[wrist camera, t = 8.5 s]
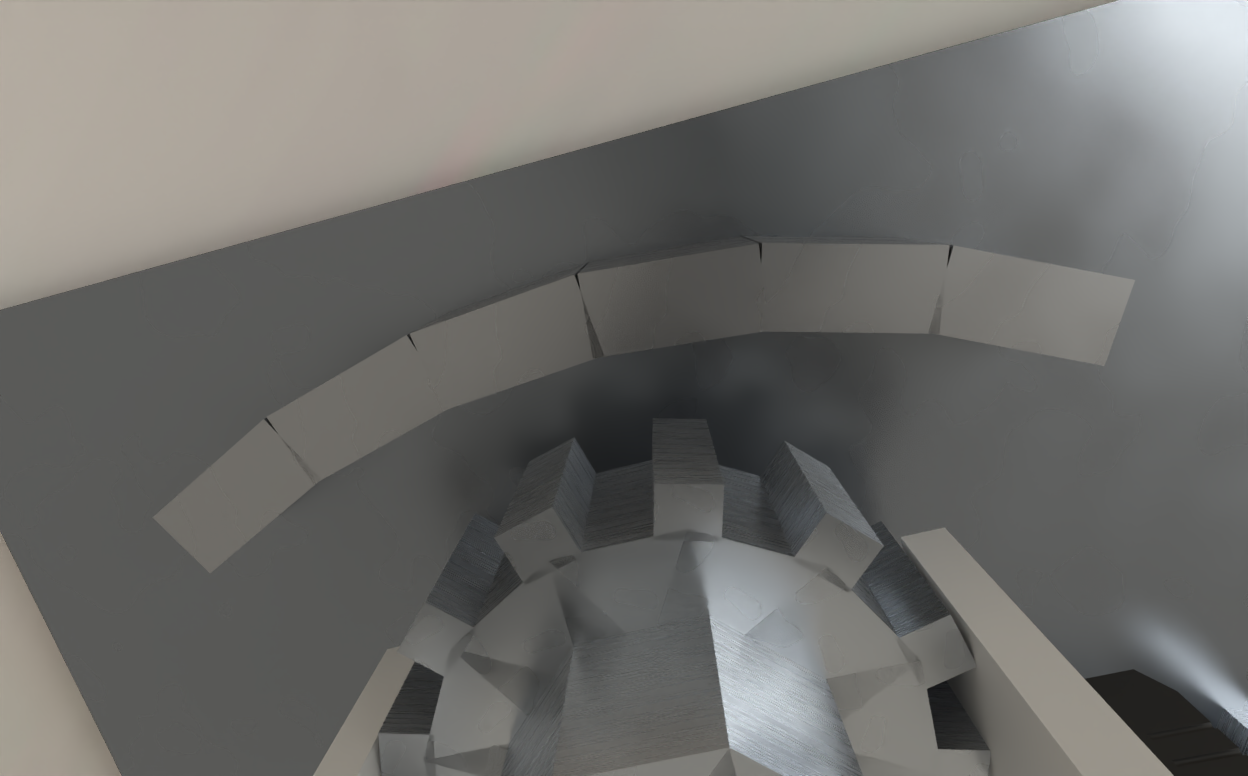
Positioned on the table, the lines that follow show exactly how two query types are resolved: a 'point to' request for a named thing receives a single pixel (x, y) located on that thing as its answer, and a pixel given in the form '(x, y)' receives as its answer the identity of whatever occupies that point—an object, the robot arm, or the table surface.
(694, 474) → the gear
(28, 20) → the table surface
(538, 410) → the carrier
